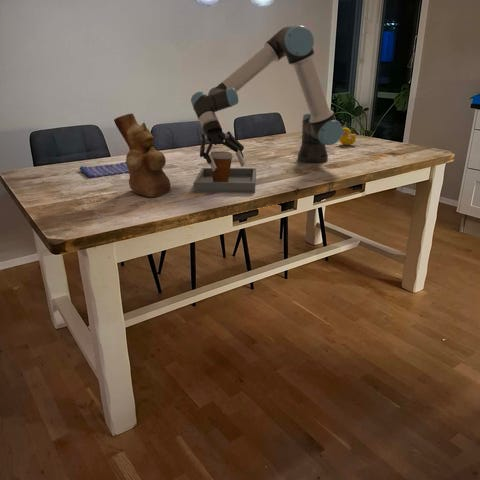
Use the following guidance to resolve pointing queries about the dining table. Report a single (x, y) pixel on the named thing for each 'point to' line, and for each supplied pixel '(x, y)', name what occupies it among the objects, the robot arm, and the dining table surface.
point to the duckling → (345, 139)
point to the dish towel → (104, 170)
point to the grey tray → (237, 182)
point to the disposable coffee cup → (221, 166)
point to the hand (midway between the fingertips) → (229, 167)
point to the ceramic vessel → (143, 158)
